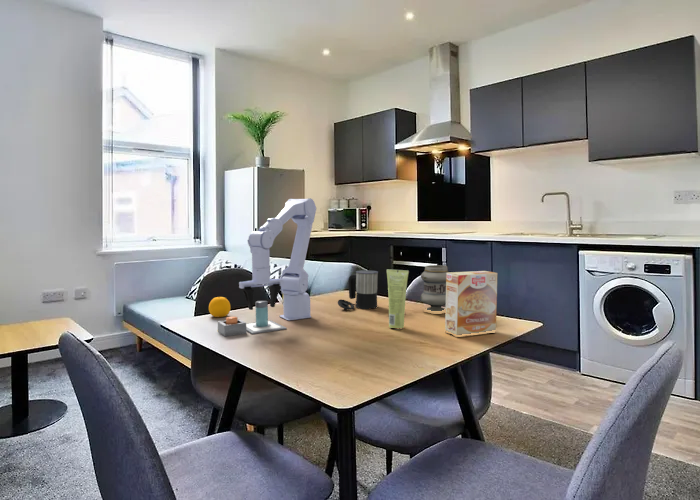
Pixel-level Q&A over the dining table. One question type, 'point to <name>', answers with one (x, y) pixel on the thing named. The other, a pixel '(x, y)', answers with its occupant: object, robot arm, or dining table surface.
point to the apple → (219, 307)
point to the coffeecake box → (471, 302)
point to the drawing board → (271, 327)
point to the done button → (231, 320)
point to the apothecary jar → (434, 286)
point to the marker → (261, 313)
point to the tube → (397, 296)
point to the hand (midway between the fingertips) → (261, 308)
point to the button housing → (232, 328)
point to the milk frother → (362, 290)
